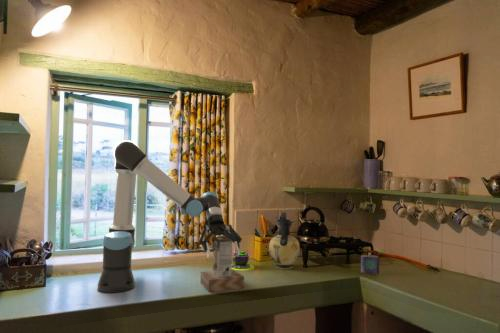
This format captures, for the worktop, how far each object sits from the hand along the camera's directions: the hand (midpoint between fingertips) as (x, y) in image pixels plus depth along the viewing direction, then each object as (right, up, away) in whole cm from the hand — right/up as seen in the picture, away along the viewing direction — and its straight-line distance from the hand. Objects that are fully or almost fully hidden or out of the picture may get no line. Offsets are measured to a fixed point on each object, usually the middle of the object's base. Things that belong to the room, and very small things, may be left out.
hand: (223, 255), depth 157 cm
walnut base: (-1, -14, +2) cm, 14 cm away
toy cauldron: (+7, -16, +36) cm, 40 cm away
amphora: (+30, -16, +38) cm, 51 cm away
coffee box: (-1, -9, +2) cm, 9 cm away
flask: (+74, -16, +28) cm, 81 cm away
